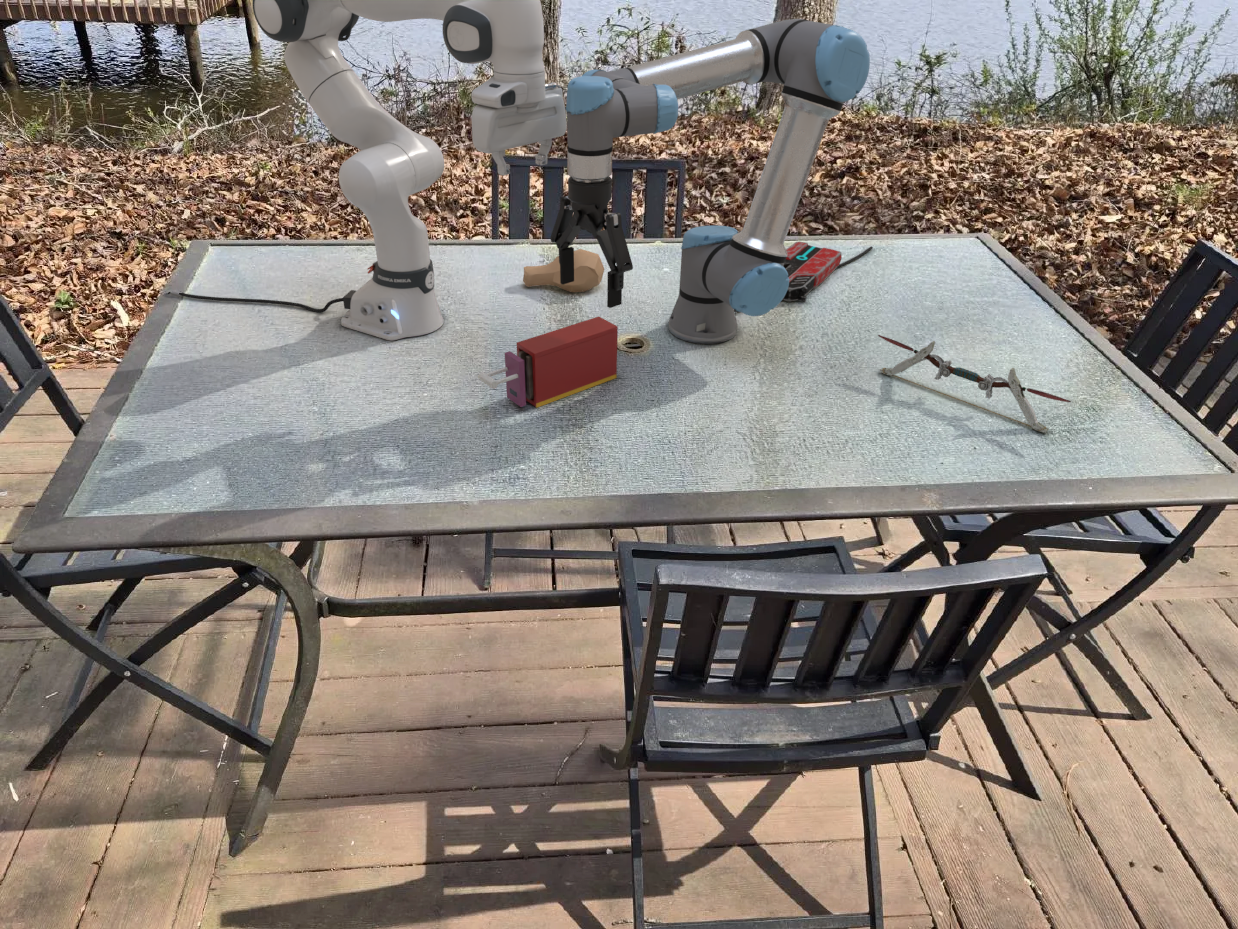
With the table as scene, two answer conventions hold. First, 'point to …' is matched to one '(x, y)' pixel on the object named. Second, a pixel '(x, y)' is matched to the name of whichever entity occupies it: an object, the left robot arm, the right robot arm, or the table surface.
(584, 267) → the squash
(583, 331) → the red yellow-edged box
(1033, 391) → the bow
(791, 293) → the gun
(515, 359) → the drawer
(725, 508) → the table surface
